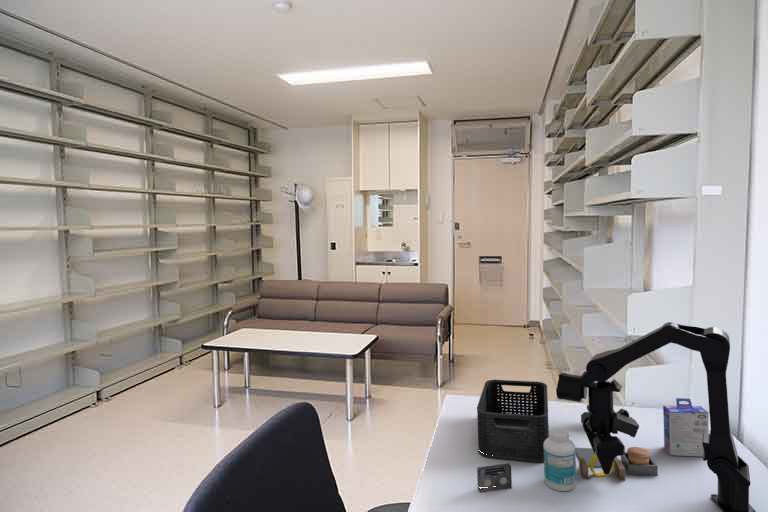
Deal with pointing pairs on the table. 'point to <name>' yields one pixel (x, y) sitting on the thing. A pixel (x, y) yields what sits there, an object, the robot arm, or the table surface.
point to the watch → (593, 469)
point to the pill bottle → (559, 460)
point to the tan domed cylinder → (638, 455)
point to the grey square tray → (639, 467)
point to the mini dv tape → (494, 477)
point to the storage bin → (513, 421)
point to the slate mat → (588, 456)
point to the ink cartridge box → (685, 428)
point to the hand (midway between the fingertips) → (601, 464)
